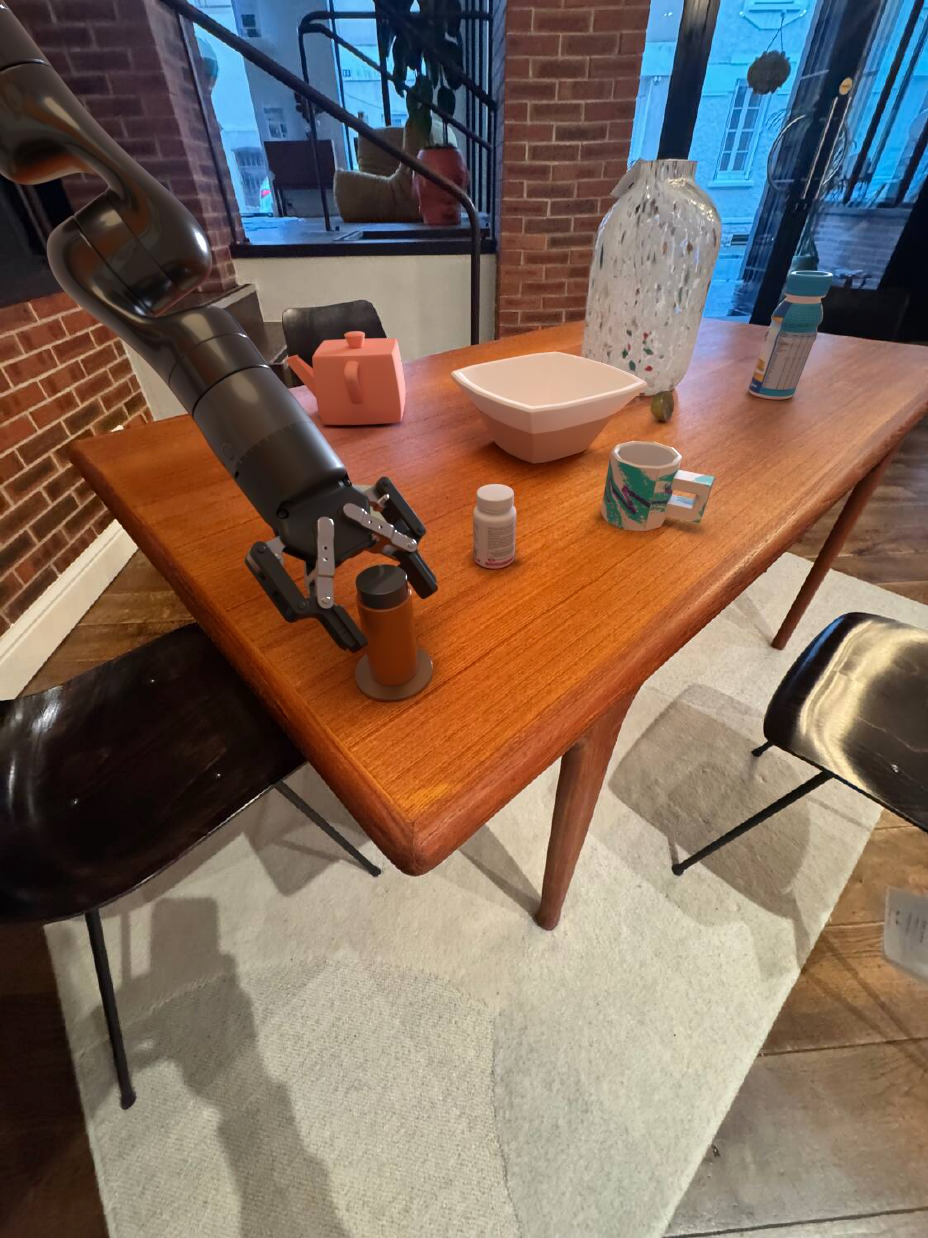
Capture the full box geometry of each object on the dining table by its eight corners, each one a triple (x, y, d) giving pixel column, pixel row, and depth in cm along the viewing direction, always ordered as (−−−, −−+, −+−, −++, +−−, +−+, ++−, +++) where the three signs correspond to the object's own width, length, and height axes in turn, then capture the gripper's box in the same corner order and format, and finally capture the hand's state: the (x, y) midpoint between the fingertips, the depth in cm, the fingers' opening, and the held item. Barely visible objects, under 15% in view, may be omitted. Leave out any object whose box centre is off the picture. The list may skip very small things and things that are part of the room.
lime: (670, 414, 95) (677, 385, 92) (675, 424, 92) (683, 394, 88) (645, 414, 96) (651, 385, 92) (649, 423, 92) (656, 394, 89)
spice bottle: (377, 692, 45) (360, 601, 38) (364, 659, 48) (346, 570, 42) (425, 677, 46) (416, 587, 40) (410, 645, 49) (399, 557, 43)
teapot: (408, 395, 106) (402, 317, 97) (402, 436, 90) (393, 347, 81) (311, 398, 106) (295, 320, 97) (286, 440, 89) (264, 351, 80)
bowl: (648, 452, 83) (663, 382, 76) (521, 491, 73) (525, 415, 66) (554, 409, 98) (559, 347, 91) (439, 437, 89) (436, 371, 82)
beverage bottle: (775, 403, 98) (820, 278, 85) (737, 391, 104) (774, 272, 91) (803, 395, 101) (850, 273, 88) (765, 384, 107) (804, 268, 94)
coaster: (366, 712, 44) (365, 709, 44) (347, 658, 49) (346, 655, 48) (444, 687, 46) (443, 684, 45) (418, 637, 51) (418, 634, 50)
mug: (613, 495, 72) (624, 435, 67) (704, 515, 67) (723, 453, 62) (593, 522, 67) (603, 459, 61) (690, 546, 62) (710, 480, 57)
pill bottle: (521, 554, 61) (525, 488, 56) (501, 574, 58) (504, 506, 53) (486, 543, 63) (487, 478, 58) (465, 562, 60) (464, 495, 55)
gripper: (327, 444, 47) (431, 591, 49) (180, 507, 39) (314, 681, 41) (359, 394, 41) (476, 563, 43) (194, 455, 33) (350, 662, 35)
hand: (397, 620), depth 42 cm, fingers open, 8 cm apart
